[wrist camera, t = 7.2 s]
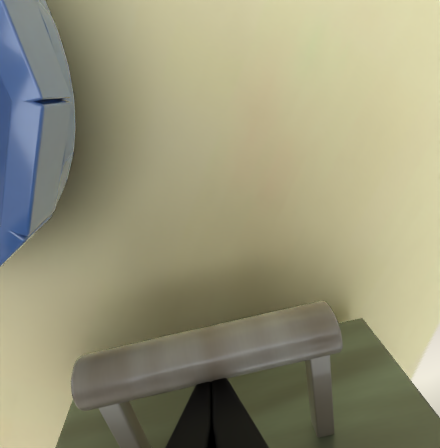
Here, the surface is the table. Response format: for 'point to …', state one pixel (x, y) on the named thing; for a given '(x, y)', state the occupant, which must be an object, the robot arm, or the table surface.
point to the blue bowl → (32, 121)
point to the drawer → (254, 385)
